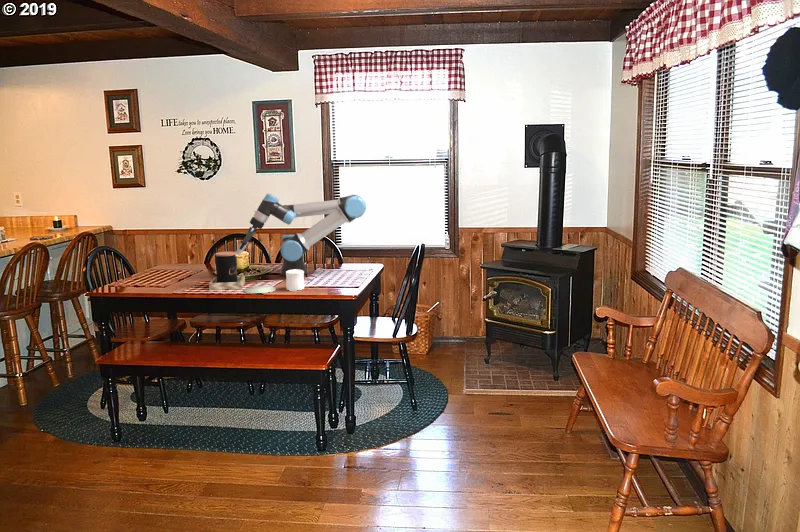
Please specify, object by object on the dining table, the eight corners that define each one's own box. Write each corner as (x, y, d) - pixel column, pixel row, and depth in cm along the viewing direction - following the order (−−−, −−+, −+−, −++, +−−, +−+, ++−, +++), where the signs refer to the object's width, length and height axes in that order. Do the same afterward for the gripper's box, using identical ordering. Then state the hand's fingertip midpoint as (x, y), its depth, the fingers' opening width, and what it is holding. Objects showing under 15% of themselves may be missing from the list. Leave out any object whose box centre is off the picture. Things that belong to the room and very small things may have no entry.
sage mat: (276, 286, 346) (276, 285, 346) (274, 293, 331) (274, 292, 331) (245, 287, 344) (245, 286, 344) (242, 294, 329) (242, 293, 329)
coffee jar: (232, 288, 343) (230, 254, 340) (213, 288, 345) (211, 254, 342) (241, 284, 353) (239, 251, 350) (223, 284, 355) (220, 251, 352)
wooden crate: (245, 282, 358) (244, 276, 357) (241, 288, 342) (241, 282, 341) (214, 283, 356) (213, 277, 355) (209, 290, 340) (209, 283, 339)
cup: (288, 292, 333) (287, 273, 331) (283, 288, 342) (283, 270, 340) (307, 290, 336) (306, 271, 335) (301, 286, 345) (301, 268, 344)
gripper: (255, 214, 371) (235, 246, 372) (250, 217, 347) (229, 252, 348) (266, 221, 372) (247, 253, 374) (263, 225, 348) (242, 259, 349)
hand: (238, 252), depth 361 cm, fingers open, 13 cm apart
